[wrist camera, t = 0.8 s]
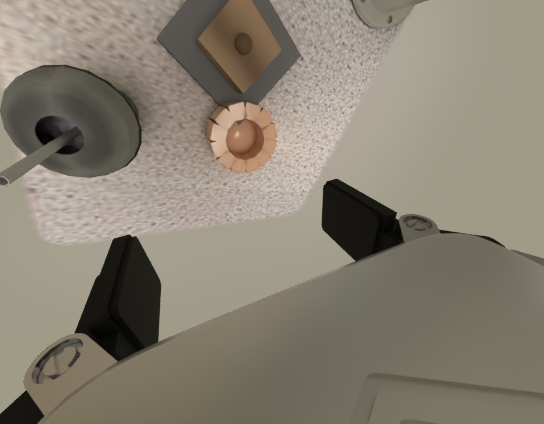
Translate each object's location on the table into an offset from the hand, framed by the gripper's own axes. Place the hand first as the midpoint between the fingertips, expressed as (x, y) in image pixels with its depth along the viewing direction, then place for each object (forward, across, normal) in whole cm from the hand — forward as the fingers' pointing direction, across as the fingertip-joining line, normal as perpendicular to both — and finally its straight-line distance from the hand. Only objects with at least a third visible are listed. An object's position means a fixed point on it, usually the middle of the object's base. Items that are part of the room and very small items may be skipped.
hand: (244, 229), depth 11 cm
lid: (+22, -7, -9) cm, 25 cm away
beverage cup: (+23, +8, -4) cm, 25 cm away
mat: (+23, -7, -9) cm, 26 cm away
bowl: (+23, -5, 0) cm, 24 cm away
